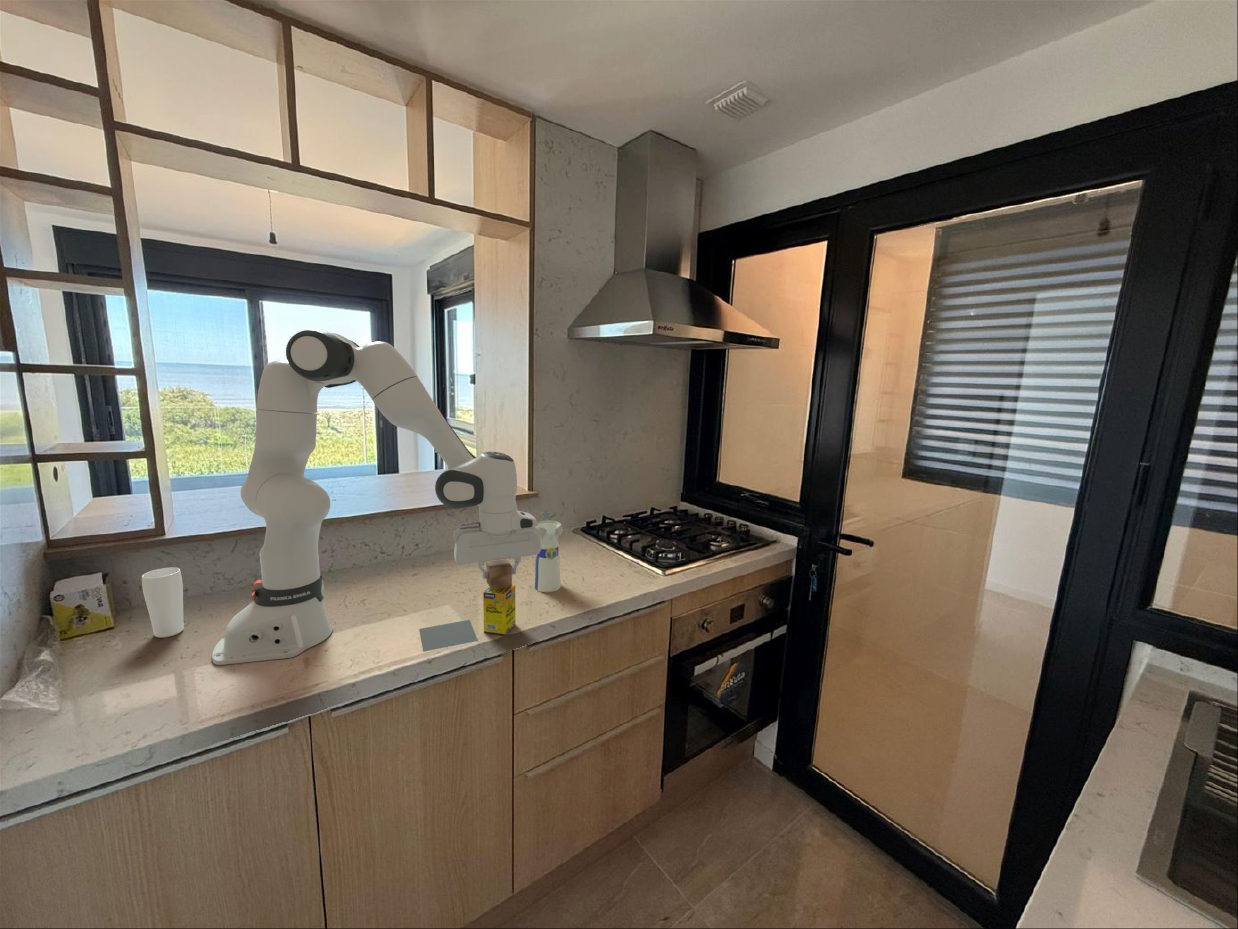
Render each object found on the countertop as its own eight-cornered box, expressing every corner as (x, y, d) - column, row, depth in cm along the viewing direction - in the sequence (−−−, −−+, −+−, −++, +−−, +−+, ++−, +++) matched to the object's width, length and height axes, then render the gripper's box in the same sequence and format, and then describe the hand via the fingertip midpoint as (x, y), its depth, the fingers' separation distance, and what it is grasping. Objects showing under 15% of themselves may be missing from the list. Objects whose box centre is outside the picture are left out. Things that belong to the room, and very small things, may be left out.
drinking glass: (157, 628, 119) (149, 569, 116) (193, 624, 121) (185, 565, 119) (144, 642, 112) (134, 580, 110) (181, 637, 115) (173, 576, 113)
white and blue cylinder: (566, 589, 147) (567, 507, 142) (538, 594, 143) (538, 510, 139) (557, 579, 154) (558, 501, 150) (530, 583, 150) (530, 503, 146)
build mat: (423, 653, 111) (423, 651, 111) (419, 630, 121) (419, 628, 121) (477, 641, 117) (477, 640, 117) (469, 621, 126) (469, 619, 126)
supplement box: (506, 637, 119) (505, 594, 117) (483, 634, 120) (482, 591, 118) (516, 625, 125) (516, 584, 123) (494, 623, 126) (493, 582, 124)
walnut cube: (490, 589, 117) (490, 569, 116) (486, 581, 121) (486, 561, 121) (511, 586, 119) (511, 566, 118) (506, 578, 124) (506, 559, 123)
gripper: (454, 528, 110) (456, 587, 113) (543, 519, 119) (543, 574, 122) (450, 521, 116) (452, 577, 118) (535, 513, 125) (535, 565, 127)
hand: (499, 575), depth 120 cm, fingers open, 5 cm apart
